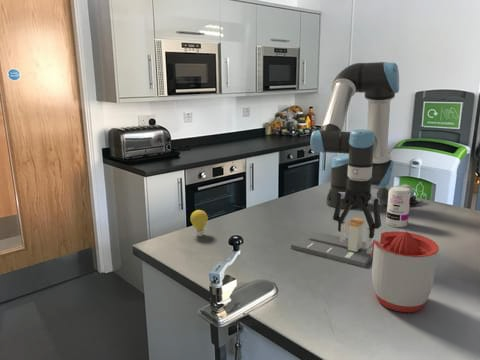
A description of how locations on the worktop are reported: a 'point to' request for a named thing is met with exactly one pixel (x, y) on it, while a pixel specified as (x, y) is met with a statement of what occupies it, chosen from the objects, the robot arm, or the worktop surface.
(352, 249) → the fader knob
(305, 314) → the worktop surface
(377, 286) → the citrus juicer
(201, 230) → the light bulb
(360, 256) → the fader panel
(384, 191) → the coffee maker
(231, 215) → the worktop surface
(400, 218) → the supplement can
